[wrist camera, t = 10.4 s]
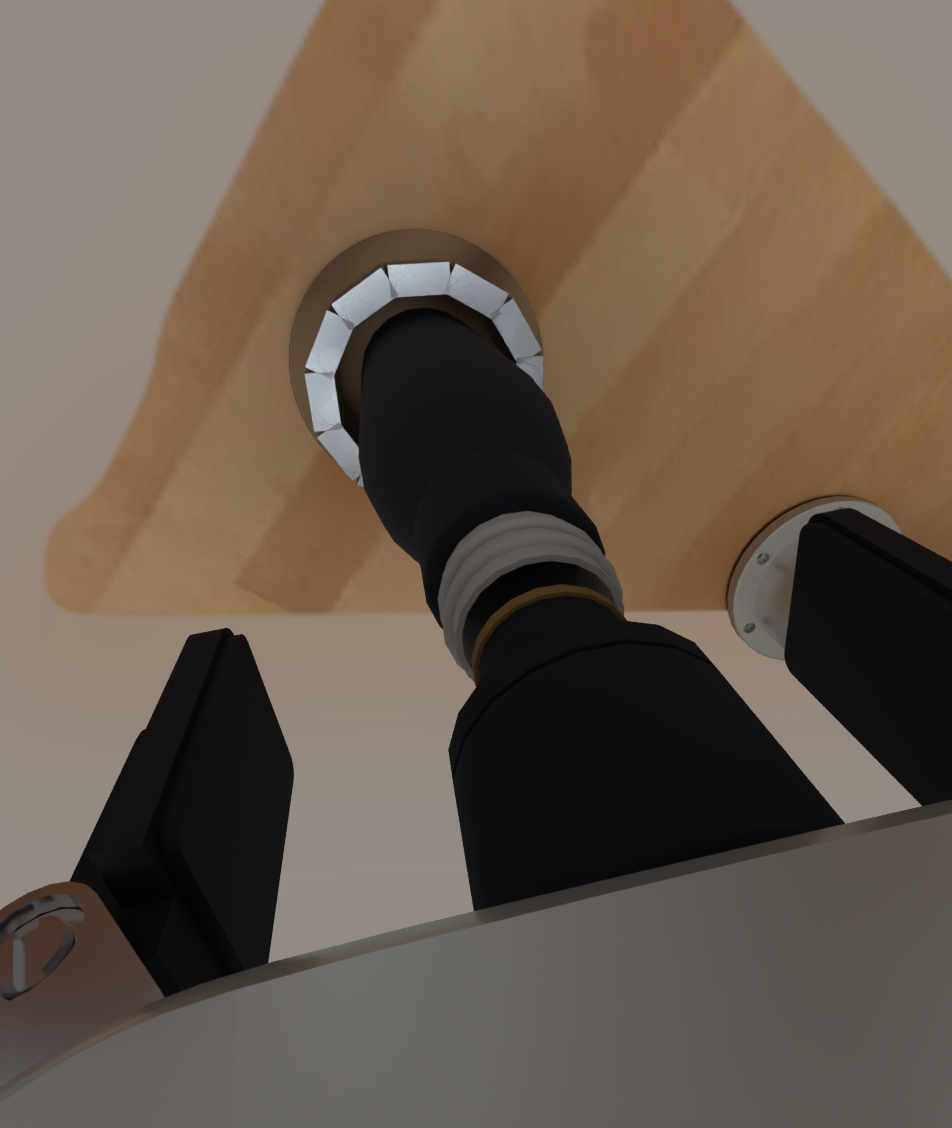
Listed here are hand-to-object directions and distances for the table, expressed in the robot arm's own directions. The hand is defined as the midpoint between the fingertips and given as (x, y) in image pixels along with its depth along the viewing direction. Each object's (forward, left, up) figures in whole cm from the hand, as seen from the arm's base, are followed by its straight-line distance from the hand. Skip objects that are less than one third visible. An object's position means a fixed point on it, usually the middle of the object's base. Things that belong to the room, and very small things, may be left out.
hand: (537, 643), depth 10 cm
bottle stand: (0, 0, -26) cm, 26 cm away
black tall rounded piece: (0, 0, -25) cm, 25 cm away
